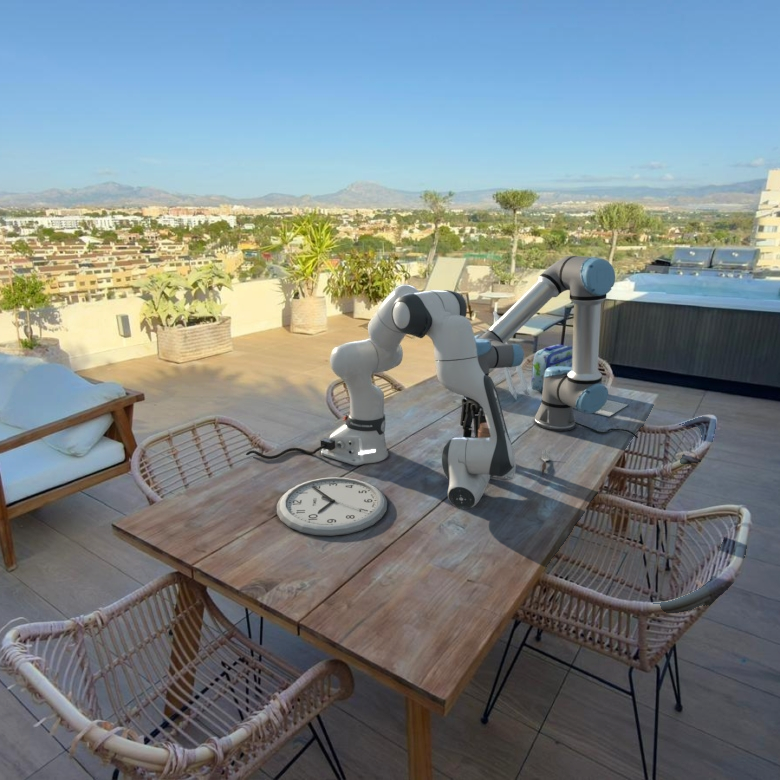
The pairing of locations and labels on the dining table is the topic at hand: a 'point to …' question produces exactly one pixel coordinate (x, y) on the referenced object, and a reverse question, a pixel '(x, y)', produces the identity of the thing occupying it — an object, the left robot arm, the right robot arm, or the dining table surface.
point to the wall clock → (331, 506)
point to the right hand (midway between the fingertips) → (471, 451)
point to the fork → (545, 460)
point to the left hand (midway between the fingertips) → (485, 454)
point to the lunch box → (549, 362)
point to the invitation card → (611, 408)
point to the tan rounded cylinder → (483, 431)
